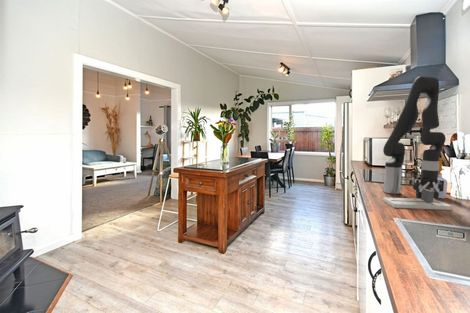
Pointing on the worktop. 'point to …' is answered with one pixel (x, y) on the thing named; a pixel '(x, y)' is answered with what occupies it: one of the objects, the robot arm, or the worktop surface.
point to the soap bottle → (442, 193)
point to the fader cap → (427, 195)
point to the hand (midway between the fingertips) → (427, 198)
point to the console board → (416, 203)
